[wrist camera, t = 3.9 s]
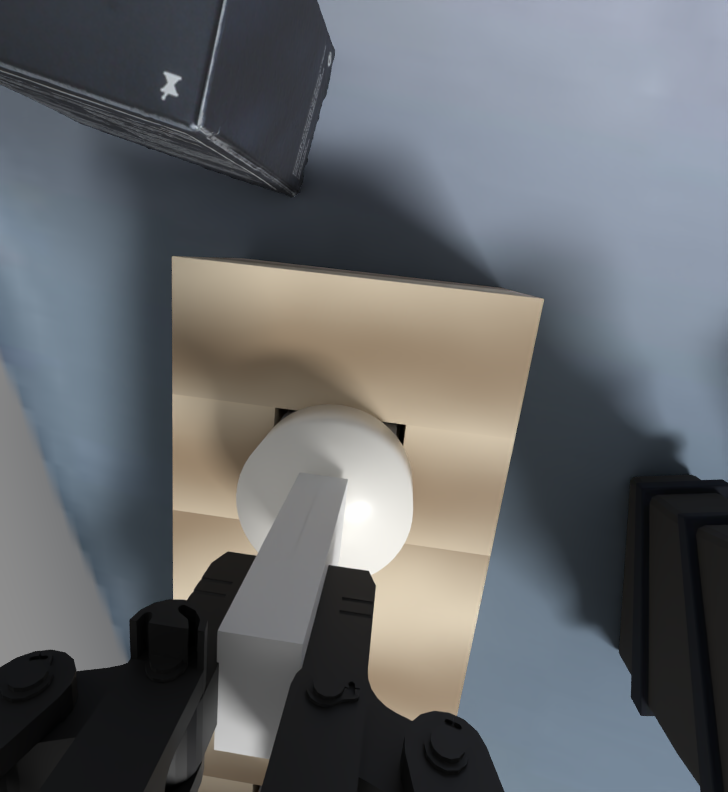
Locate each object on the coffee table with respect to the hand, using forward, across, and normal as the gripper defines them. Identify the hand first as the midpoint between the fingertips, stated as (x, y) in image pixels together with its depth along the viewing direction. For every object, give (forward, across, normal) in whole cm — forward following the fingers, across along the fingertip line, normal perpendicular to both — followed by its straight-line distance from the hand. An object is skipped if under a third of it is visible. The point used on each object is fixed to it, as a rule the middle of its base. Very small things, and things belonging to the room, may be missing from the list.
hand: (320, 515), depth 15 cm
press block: (+10, 0, -9) cm, 13 cm away
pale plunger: (+8, 0, 0) cm, 8 cm away
